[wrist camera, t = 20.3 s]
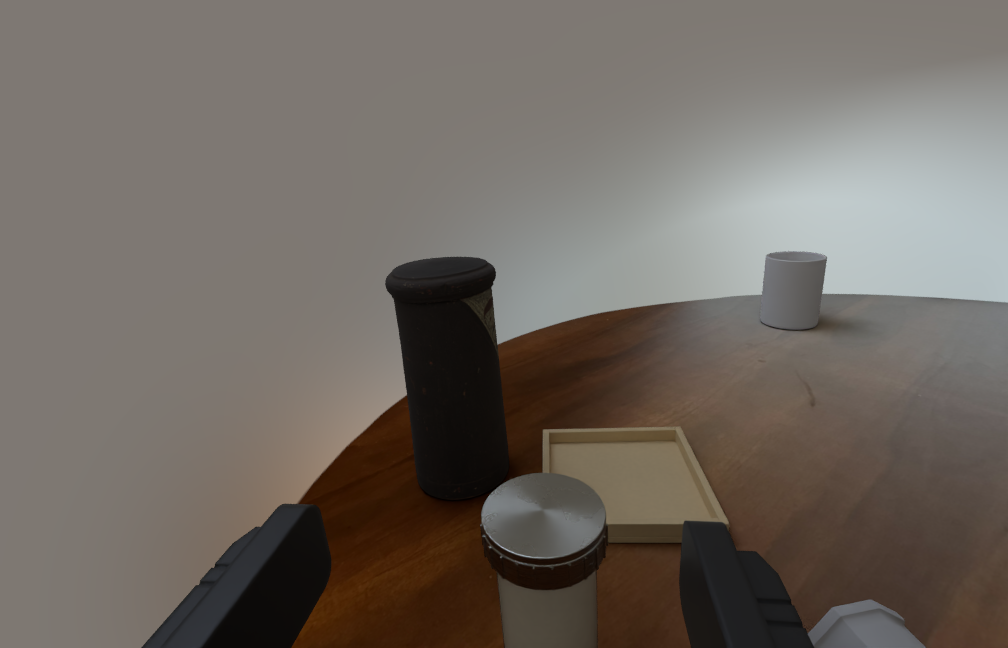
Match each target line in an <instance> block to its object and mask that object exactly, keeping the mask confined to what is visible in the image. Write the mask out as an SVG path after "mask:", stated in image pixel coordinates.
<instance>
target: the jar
mask: <svg viewBox="0 0 1008 648" xmlns="http://www.w3.org/2000/svg"><path fill="white" fill-rule="evenodd" d="M497 582H498V592H499V602H500V612H501V622H502V632H503V642H504V648H598V611H597V570H596V571H595V572H594V573H593V574H592V575H590V576H589V577H588V578H587V580H583V581H581V582H580V583H578V584H575V585H573V586H572V587H567V588H563V589H559V590H558V589H557V590H554V591H552V590H533V589H528V588H524V587H521V586H516V584H513V583H511V582H509V581H508V580H506V579H503V578H502V576H500V575H499V574H498V573H497Z"/></svg>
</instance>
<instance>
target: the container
mask: <svg viewBox="0 0 1008 648" xmlns="http://www.w3.org/2000/svg"><path fill="white" fill-rule="evenodd" d="M495 276H496V272H495V268H494V267H493V266H492V265H491V264H490V263H488V262H487V261H486V260H483V259H480V258H473V257H443V258H432V259H423V260H418V261H413V262H409V263H406V264H403V265H401V266H398V267H396V268H395V269H394V270H393V271H392V272H391V273H390V274H389V275H388V276H387V278H386V283H385V285H386V288H387V291H388V292H389V293H390V294H391V295H392V297H393V298H394V302H395V310H396V315H397V323H398V328H399V335H400V341H401V349H402V358H403V366H404V374H405V382H406V389H407V397H408V404H409V413H410V422H411V430H412V439H413V448H414V457H415V465H416V473H417V479H418V483H419V485H420V487H421V488H422V489H423V490H424V491H425V492H426V493H428V494H429V495H431V496H434V497H436V498H441V499H447V500H460V499H467V498H472V497H475V496H478V495H481V494H484V493H486V492H488V491H490V490H491V489H493V488H494V487H496V486H497V485H498V484H500V483H501V482H502V481H503V479H504V478H505V476H506V475H507V473H508V469H509V457H508V444H507V434H506V425H505V416H504V406H503V396H502V387H501V377H500V367H499V356H498V346H497V338H496V329H495V319H494V308H493V297H492V289H491V287H492V285H493V281H494V280H495Z"/></svg>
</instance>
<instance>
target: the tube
mask: <svg viewBox="0 0 1008 648" xmlns="http://www.w3.org/2000/svg"><path fill="white" fill-rule="evenodd" d="M904 623H905V620H904V619H903V618H902V617H901V616H900V615H899V614H898V613H896V612H894V611H893V610H891V609H889V608H887V607H885V606H883V605H881V604H879V603H877V602H875V601H873V600H865V601H861V602H856V603H851V604H846V605H841V606H837V607H832V608H831V609H830V610H829V611H828V613H827V614H826V615H825V616H824V617H823V618H822V619H821V620H820V621H819V622H818V623H817V624H816V626H815V627H814V628H813V629H812V630H811V631H810V632H809V633H808V636H809V638H810V640H811V642H812V644H813V646H814V648H926V647H925V646H924V645H923V644H922V643H921V642H920V641H919V640H918V639H917V638H916V637H914V636H913V635H912V634H911V633H910V632H909V630H908V629H907V628H906V627H905V626H904Z"/></svg>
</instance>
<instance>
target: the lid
mask: <svg viewBox="0 0 1008 648" xmlns="http://www.w3.org/2000/svg"><path fill="white" fill-rule="evenodd" d="M481 520H482V524H480V527H481V536H482V545H483V547H484V556H485V557H487V559H488V561H489V563H490V564H491V568H492V569H494V570H495V571H496V572H497V573H498V574H499V575H500V576H502V578H503V579H506V580H508V581H509V582H511V583H513V584H516V586H521V587H524V588H528V589H533V590H552V591H554V590H557V589H558V590H559V589H563V588H567V587H572V586H573V585H575V584H578V583H580V582H581V581H583V580H587V578H588V577H589V576H590V575H592V574H593V573H594V572H595V571H596V570H598V569H599V565H600V564H601V562H602V560H603V558H605V557H606V546H608V524H606V510H605V506H604V504H603V502H602V500H601V498H600V497H599V495H598V494H597V493H596V492H595V491H594V490H593V489H592V488H591V487H590V486H588V485H587V484H585V483H584V482H582V481H580V480H578V479H575V478H572V477H569V476H566V475H561V474H555V473H533V474H527V475H522V476H519V477H516V478H513V479H511V480H509V481H507V482H505V483H503V484H501V485H500V486H498V487H497V488H496V489H495V490H494V491H493V492H492V493H491V494H490V495H489V496H488V498H487V499H486V501H485V503H484V505H483V508H482V513H481Z"/></svg>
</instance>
